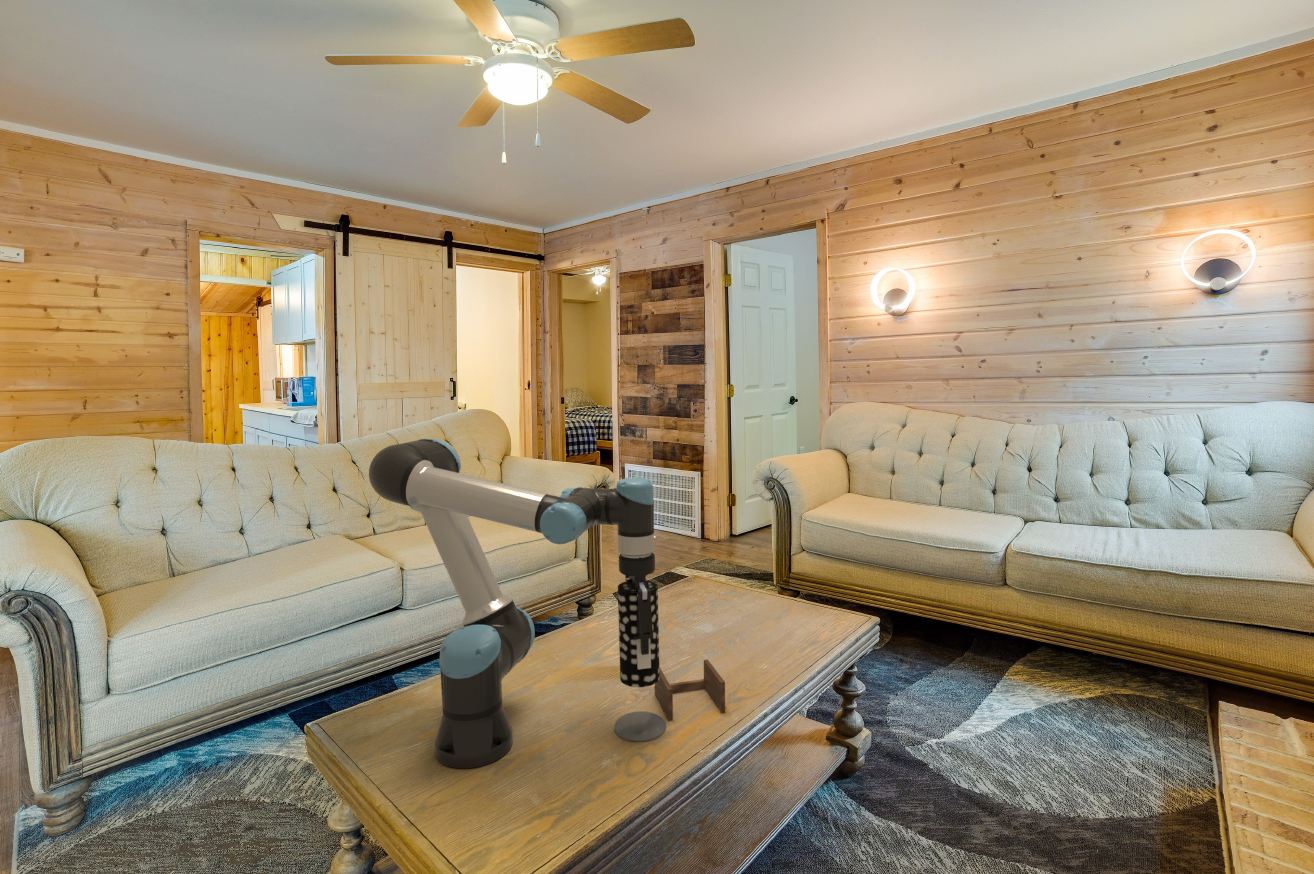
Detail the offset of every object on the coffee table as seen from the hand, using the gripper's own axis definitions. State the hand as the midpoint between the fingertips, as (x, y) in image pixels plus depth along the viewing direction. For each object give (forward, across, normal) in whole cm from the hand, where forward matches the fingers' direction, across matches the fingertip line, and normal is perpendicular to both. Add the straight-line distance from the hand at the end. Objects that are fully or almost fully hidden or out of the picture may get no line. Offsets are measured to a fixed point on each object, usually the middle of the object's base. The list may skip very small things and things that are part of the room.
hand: (639, 658), depth 138 cm
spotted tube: (+5, 0, 0) cm, 5 cm away
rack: (+15, +7, -13) cm, 21 cm away
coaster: (+15, 0, 0) cm, 15 cm away
